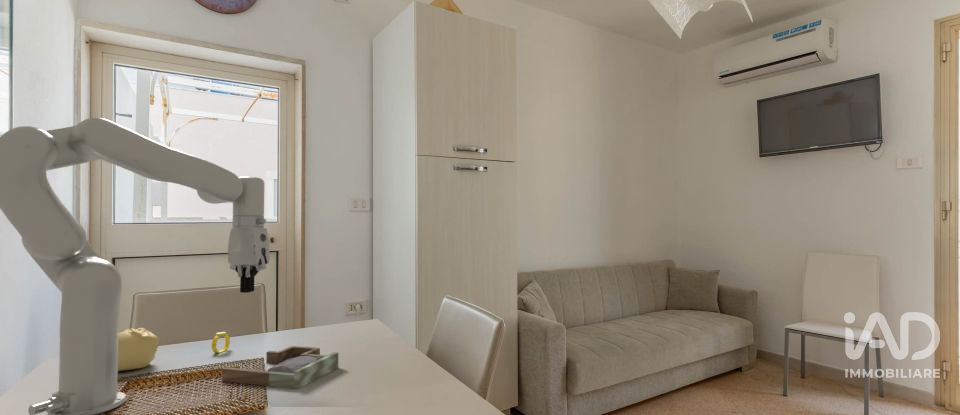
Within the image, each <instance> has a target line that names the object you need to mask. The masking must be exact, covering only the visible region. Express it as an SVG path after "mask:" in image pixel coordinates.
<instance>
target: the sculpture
mask: <svg viewBox="0 0 960 415" xmlns="http://www.w3.org/2000/svg"><path fill="white" fill-rule="evenodd" d="M159 342H160V340H159V337H158V336H157V335H155V334H154V333H153V332H151V331H149V330H147V329H146V328H145V327H138V328H133V327H131V328H126V329H124V331H120V332H118V372H120V371H121V372H122V371H130V370H138V369H143V368H146V367H148V366H149V364H150V363H151V362H152V361H154V359H155V358H156V352H157V351H158V347H159Z"/></svg>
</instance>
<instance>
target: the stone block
mask: <svg viewBox="0 0 960 415" xmlns="http://www.w3.org/2000/svg"><path fill="white" fill-rule="evenodd" d="M319 359H320V358H319V357H318V358H315V357H310V356H299V357H296V358H290V359H287V360H285V361H283V362H281V363H279V364H276V366H275V365H274V366H273V367H269V368H267V370H266V371H272V372H283V373H294V371H295V370H297V369H300V368H302V367H304V366H306V365H308V364H310V363H312V362H315V361H317V360H319Z"/></svg>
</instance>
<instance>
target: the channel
mask: <svg viewBox="0 0 960 415" xmlns="http://www.w3.org/2000/svg"><path fill="white" fill-rule="evenodd" d="M299 356H310V357H315V358H318V357H319V358H320V359H319V360H317V361H315V362H312V363H310V364H308V365H306V366H304V367H302V368H300V369H297V370H295V371H294V373H283V372H272V371H267V370H259V369H250V368H239V367H229V366H228V367H227V366H226V367H223V368H222V367H221V381H222V382H228V383H229V382H230V383H237V384H250V385H260V386H267V387H268V386H269V387H278V388H286V389H287V388H288V389H295V390H298V389H301V388H303V387H304V386H306V385H308V384H310V383H312V382H314V381H315V380H318V379H320V378H322V377H323V376H325V375H327V374H328V373H330V372H333V371H335V370H337V369H338V368H339V352H338V351H337V352H335V351H334V352H332V353H330V354H327V355H326V354H325V355H324V354H321V348H320V347H312V346H309V347H308V346H299V345H298V346H297V345H291V346H288V347H286V348H284V349H281V350H279V351H277V350H276V351H275V350H269V351H266V361H265V362H266V364H274V365H278V364H279V363H281V362H282V361H285V360H287V359H290V358H292V357H299Z"/></svg>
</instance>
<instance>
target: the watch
mask: <svg viewBox="0 0 960 415" xmlns="http://www.w3.org/2000/svg"><path fill="white" fill-rule="evenodd" d="M221 336H223V337H224V339H225V343H224V346H223V348H222V349H221V350H218V349H217V342H218V340H219V338H220V337H221ZM230 338H231V337H230V336H229V334H228V333H227V331H221V332H220V331H219V332H216V333H215V336H214V337H213V339H212V341H211V349H212V352H213V353H214V354H221V353H223V352H227V350H228V349H229V347H230V344H231V340H230Z"/></svg>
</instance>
